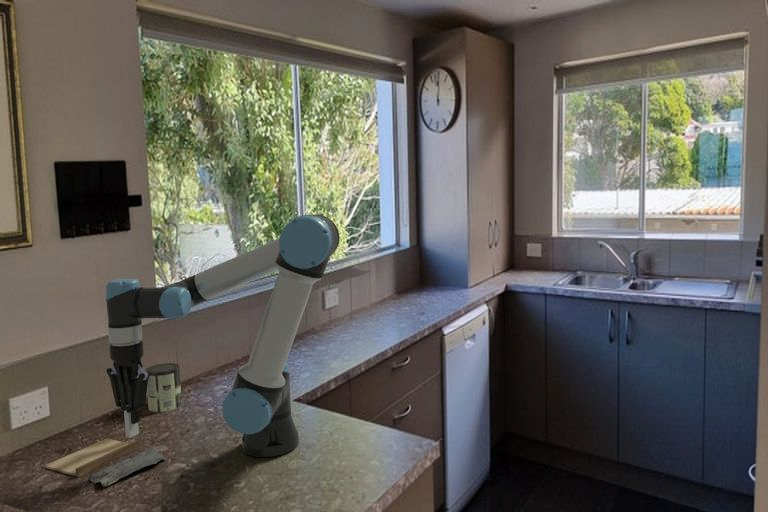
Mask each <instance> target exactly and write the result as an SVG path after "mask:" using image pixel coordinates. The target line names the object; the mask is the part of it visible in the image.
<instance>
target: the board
mask: <svg viewBox="0 0 768 512" xmlns="http://www.w3.org/2000/svg"><path fill="white" fill-rule="evenodd" d="M139 449H140V440H134V441H132V442H130V443H128V442H124V441H119V440H115V439H112V438H111V439H110V438H104V439H102V440H100V441H98V442H96V443H93V444H91V445H88V446H86V447H83V448H81V449H79V450H77V451H75V452H73V453H69V454H67V455H65V456H63V457H60V458H59V459H56V460H53V461H51V462H50V463H47V464H44V468H45V469H49V470H52V471H55V472H59V473H63V474H65V475H66V474H67V475H69V476H73V477H76V478H80V477H83V476H85V475H86V474H88V473H90V472H93V471H95V470H96V469H99V468H101V467H103V466H105V465H108V464H109V463H111V462H114V461H115V460H118V459H120V458H122V457H124V456H126V455H128V454H130V453H132V452H134V451H137V450H139Z"/></svg>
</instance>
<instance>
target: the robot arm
mask: <svg viewBox="0 0 768 512" xmlns="http://www.w3.org/2000/svg"><path fill="white" fill-rule="evenodd" d="M340 239H341V238H340V232H339V229H338V227H337V225H336V223H335V222H334V221H333V220H332V219H331V218H329V217H327V216H326V215H324V214H304V215H299V216H296V217H294V218H293V219H291V220H290V221H289V222H287V223H286V224H285V225H284V227H283V228H282V230H281V231H280V235H279V237H278V238H276V239H274V240H272V241H269V242H267V243H265V244H262V245H260V246H258V247H256V248H253V249H250V250H249V251H246V252H244V253H242V254H239V255H237V256H234V257H233V258H231V259H228V260H225V261H224V262H221V263H218V264H216V265H214V266H211V267H210V268H209V267H208V268H207V269H205V270H203V271H200V272H198V273H196V274H192V275H190V276H189V277H186V278H184V279H182V280H179V281H177V282H174V283H171V284H167V285H165V286H159V287H141V285H140V281H139V280H138V279H137V278H119V279H113V280H109V281H108V282H107V283H106V286H105V303H106V310H107V321H108V322H107V323H108V325H107V330H108V342H109V343H110V345H109V357H110V360H112V361H113V362H112V366H111V367H109V368H107V369H106V374H107V375H108V378H109V380H110V384H111V385H110V386H111V389H112V393H113V398H114V399H113V400H114V402H115V406H116V407H117V408H120V410H121V411H122V417H123V418H122V419H123V422H124V428H125V437H126V438H129V439H130V438H132V437H134V436H137V435H140V429H139V422H140V409H143V408H145V406H146V402H147V385H148V379H149V377H150V375H151V373H150V371H147V372H146V371H145V370H146V369H144V368H143V367H144V366H143V363H142V357H143V356H144V354H145V353H144V342H143V341H142V339H143V337H144V336H143V324H142V323H143V321H142V320H143V319H168V320H169V319H170V320H174V319H181V318H182V319H183V318H185V317H186V316H188V315H189V312H190V311H191V309H192V308H193V307H196V306H198V305H200V304H202V303H204V302H207V301H210V300H212V299H214V298H215V297H216V298H217V297H218V296H220V295H223V294H225V293H227V292H230V291H232V290H235V289H237V288H239V287H242V286H244V285H246V284H249V283H251V282H254V281H256V280H258V279H261V278H263V277H265V276H268V275H271V274H272V273H273V274H274V273H275V272H277V271H278V274H277V276H276V279H275V282H274V285H273V289H272V290H271V294H270V296H269V300H268V302H267V305H266V309H265V312H264V314H263V317H262V321H261V324H260V326H259V329H258V332H257V335H256V338H255V341H254V344H253V346H252V349H251V352H250V356H249V359H248V362H247V363H245V364H244V365H241V366H240V367H239V369H238V371H237V373H236V377H235V379H234V382H233V385H232V388H231V390H230V391H229V392H228V393H227V394H226V396H225V397H224V400H223V401H222V407H221V410H222V411H221V413H222V417H223V419H224V420H225V422H226V424H227V426H229V427H230V428H231V429H232V430H234V431H235V432H237V433H240V434H242V438H241V450H242V452H243V453H244V454H246V455H248V456H251V457H257V458H259V457H260V458H269V457H277V456H281V455H284V454H287V453H289V452H292V451H293V450H295V449H296V448H297V447H298V446H299V443H300V438H299V437H300V436H299V435H300V434H299V432H298V430H297V428H296V425H295V422H294V419H293V416H292V405H291V404H292V403H291V402H292V401H291V399H292V398H291V379H290V377H291V376H290V374H291V371H290V366H289V363H288V362H287V361H288V357H289V354H290V352H291V349H292V346H293V343H294V340H295V339H296V334H297V332H298V330H299V326H300V323H301V321H302V319H303V318H302V317H303V315H304V312H305V310H306V306H307V303H308V301H309V298H310V294H311V292H312V289H313V286H314V284H315V283H317V282H318V281H320V280H322V279H323V278H324V275H325V272H326V269H327V266H328V262H329V260H330V257H332V256H333V254H335V252H336V251H337V249H338V247H339V244H340Z"/></svg>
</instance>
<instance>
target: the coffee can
mask: <svg viewBox="0 0 768 512" xmlns="http://www.w3.org/2000/svg"><path fill="white" fill-rule="evenodd" d="M180 366H181V365H180V364H178V363H174V362H173V363H171V362H169V363H168V362H166V363H160V364H159V363H158V364H154V365H151V366H149V367H146V368H145V369H144V370H145V371H146V372H147V371H150V373H151V375H150V377H149V379H148V385H147V393H146V395H147V407H148V411H150V412H154V413H164V412H169V411H173V410H175V409H178V408H179V407H180V406H182V402H183V401H182V389H181V373H180V372H181V370H180Z"/></svg>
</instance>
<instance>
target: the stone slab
mask: <svg viewBox="0 0 768 512" xmlns="http://www.w3.org/2000/svg"><path fill="white" fill-rule="evenodd" d="M161 460H163V461H165V460H166V458H165V456H164V455H163V454H161V452H159V451H158V450H157V449H156V447H155V446H150V447H149V448H147V449H145V450H143V451H142V452H140V453H138V454H136V455H135V456H133V457H131V458H126V459H124V460H122V461H121V462H118V463H115V464H112V465H110V466H108V467H106V468H103V469H101V470H99V471H98V472H95V473H94V474H91V475H90V477H89V481H90V482H91V483H92V484H97V483H100V485H101V486H102V487H104V488H105V487H108V486H110V485H112V484H113V483H116V482H118V481H119V480H121V479H122V478H125V477H127V476H129V475H130V474H132V473H134V472H136V471H139V470H141V469H143V468H145V467H148V466H150V465H157V464H158V462H160V461H161Z"/></svg>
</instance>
